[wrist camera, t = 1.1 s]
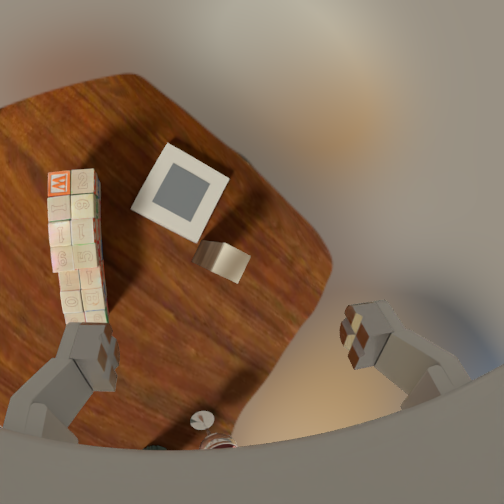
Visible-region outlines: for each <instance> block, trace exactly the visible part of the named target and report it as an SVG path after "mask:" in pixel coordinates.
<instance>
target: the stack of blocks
mask: <svg viewBox="0 0 504 504" xmlns="http://www.w3.org/2000/svg"><path fill="white" fill-rule="evenodd" d="M47 200H48V221H49V223H48V230H49V242H50V248H51V259H52V268H53V273H55V272H58V276H59V284H60V296H61V303H62V309H63V313H64V315H65V321H66V325H67V324H68V323H69V322H95V323H109V309H108V302H107V290H106V281H105V271H104V260H103V252H102V238H101V183H100V181H99V179H98V176H97V173H96V172H95V170H94V169H79V170H72V171H58V172H50V173H48V199H47Z"/></svg>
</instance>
